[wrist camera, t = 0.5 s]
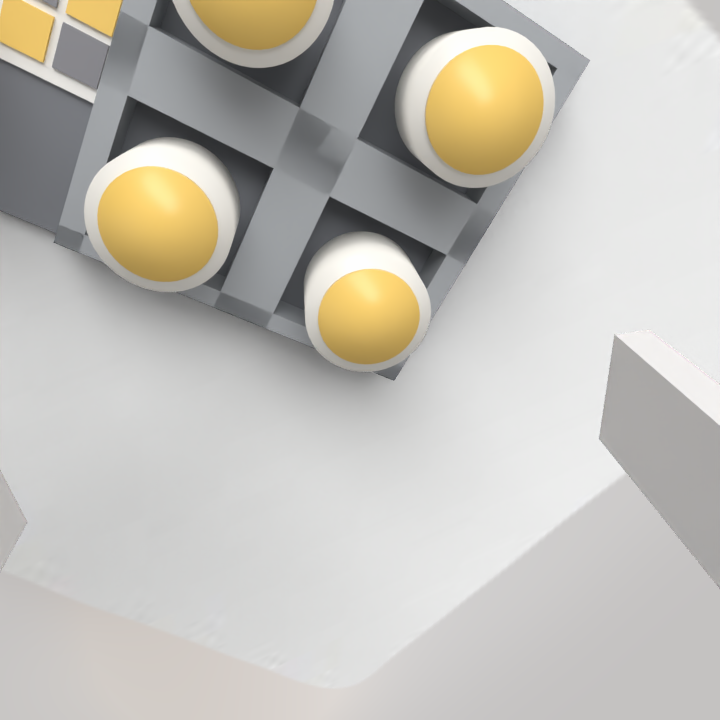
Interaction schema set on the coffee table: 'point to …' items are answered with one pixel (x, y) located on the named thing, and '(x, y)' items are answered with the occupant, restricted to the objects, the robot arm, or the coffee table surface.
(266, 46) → the button
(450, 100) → the button
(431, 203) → the board
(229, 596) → the coffee table surface
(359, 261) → the button
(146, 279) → the button
